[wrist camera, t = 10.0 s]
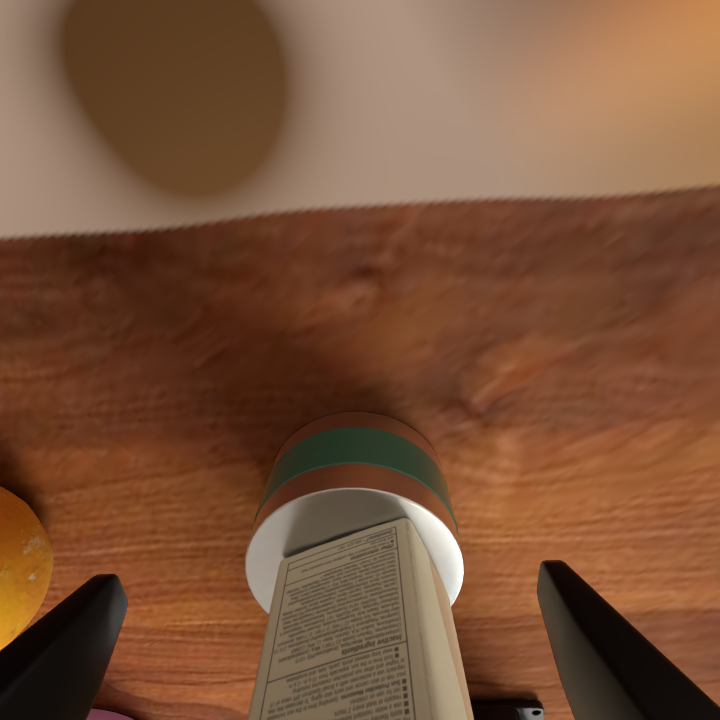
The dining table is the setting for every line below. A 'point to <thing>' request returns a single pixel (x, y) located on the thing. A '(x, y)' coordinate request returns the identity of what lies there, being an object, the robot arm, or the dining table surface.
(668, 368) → the dining table surface
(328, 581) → the box
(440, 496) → the tin can
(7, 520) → the fruit
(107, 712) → the teapot
